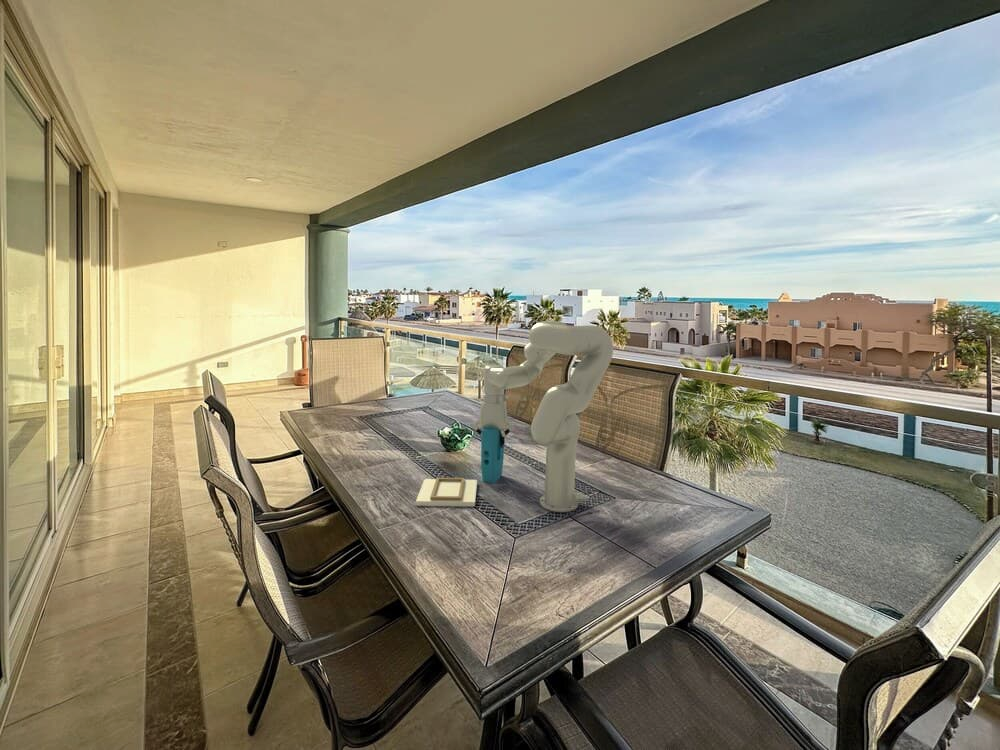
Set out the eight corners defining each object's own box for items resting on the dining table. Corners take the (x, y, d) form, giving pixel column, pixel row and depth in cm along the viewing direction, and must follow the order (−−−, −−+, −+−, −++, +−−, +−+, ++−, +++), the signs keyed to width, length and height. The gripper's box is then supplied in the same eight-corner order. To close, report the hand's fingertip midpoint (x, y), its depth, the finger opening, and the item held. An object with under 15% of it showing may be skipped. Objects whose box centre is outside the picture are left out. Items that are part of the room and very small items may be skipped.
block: (492, 485, 166) (493, 431, 163) (479, 482, 168) (480, 429, 165) (503, 473, 177) (505, 423, 174) (491, 472, 179) (492, 422, 176)
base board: (477, 483, 167) (477, 477, 167) (474, 506, 148) (474, 499, 148) (424, 482, 167) (424, 476, 166) (415, 505, 148) (415, 498, 148)
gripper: (516, 397, 172) (515, 443, 175) (470, 396, 172) (470, 443, 174) (517, 401, 164) (516, 450, 167) (469, 400, 164) (469, 449, 167)
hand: (492, 445), depth 171 cm, fingers closed on block, 5 cm apart
